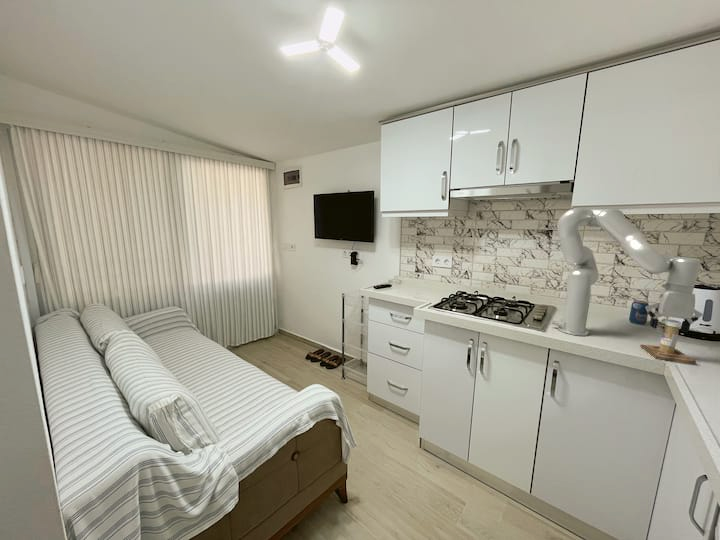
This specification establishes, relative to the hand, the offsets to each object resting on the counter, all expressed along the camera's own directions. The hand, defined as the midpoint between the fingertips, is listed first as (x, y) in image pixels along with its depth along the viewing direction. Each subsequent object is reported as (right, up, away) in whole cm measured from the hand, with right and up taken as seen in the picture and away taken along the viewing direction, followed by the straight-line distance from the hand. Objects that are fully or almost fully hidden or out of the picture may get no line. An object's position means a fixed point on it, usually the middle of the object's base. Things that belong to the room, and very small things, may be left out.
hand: (668, 329), depth 122 cm
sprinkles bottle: (0, -10, +1) cm, 10 cm away
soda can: (+25, -5, +41) cm, 48 cm away
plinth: (0, -11, +1) cm, 11 cm away
